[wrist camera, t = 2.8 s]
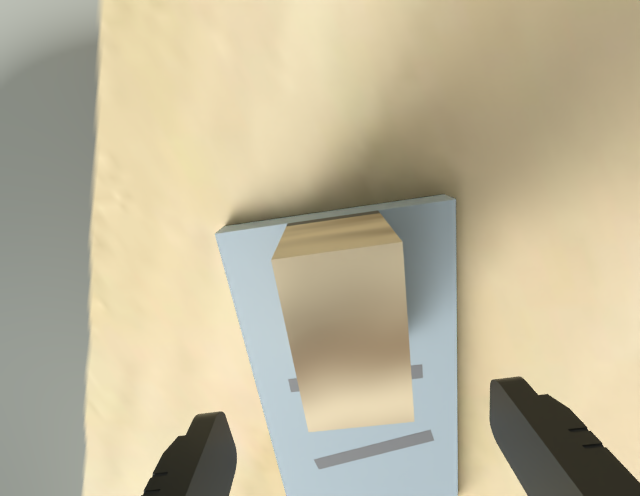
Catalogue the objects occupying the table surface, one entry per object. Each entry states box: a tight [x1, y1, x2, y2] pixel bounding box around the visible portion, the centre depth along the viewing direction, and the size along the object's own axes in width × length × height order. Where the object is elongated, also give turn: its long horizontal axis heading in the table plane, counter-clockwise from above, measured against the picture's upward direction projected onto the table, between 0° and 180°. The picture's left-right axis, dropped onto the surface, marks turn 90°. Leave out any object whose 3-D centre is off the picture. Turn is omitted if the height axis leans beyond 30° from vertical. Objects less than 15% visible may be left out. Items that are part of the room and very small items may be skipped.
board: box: [215, 194, 458, 496], centre depth 20 cm, size 24×12×2 cm, turn 9°
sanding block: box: [271, 210, 415, 432], centre depth 14 cm, size 8×4×5 cm, turn 9°
